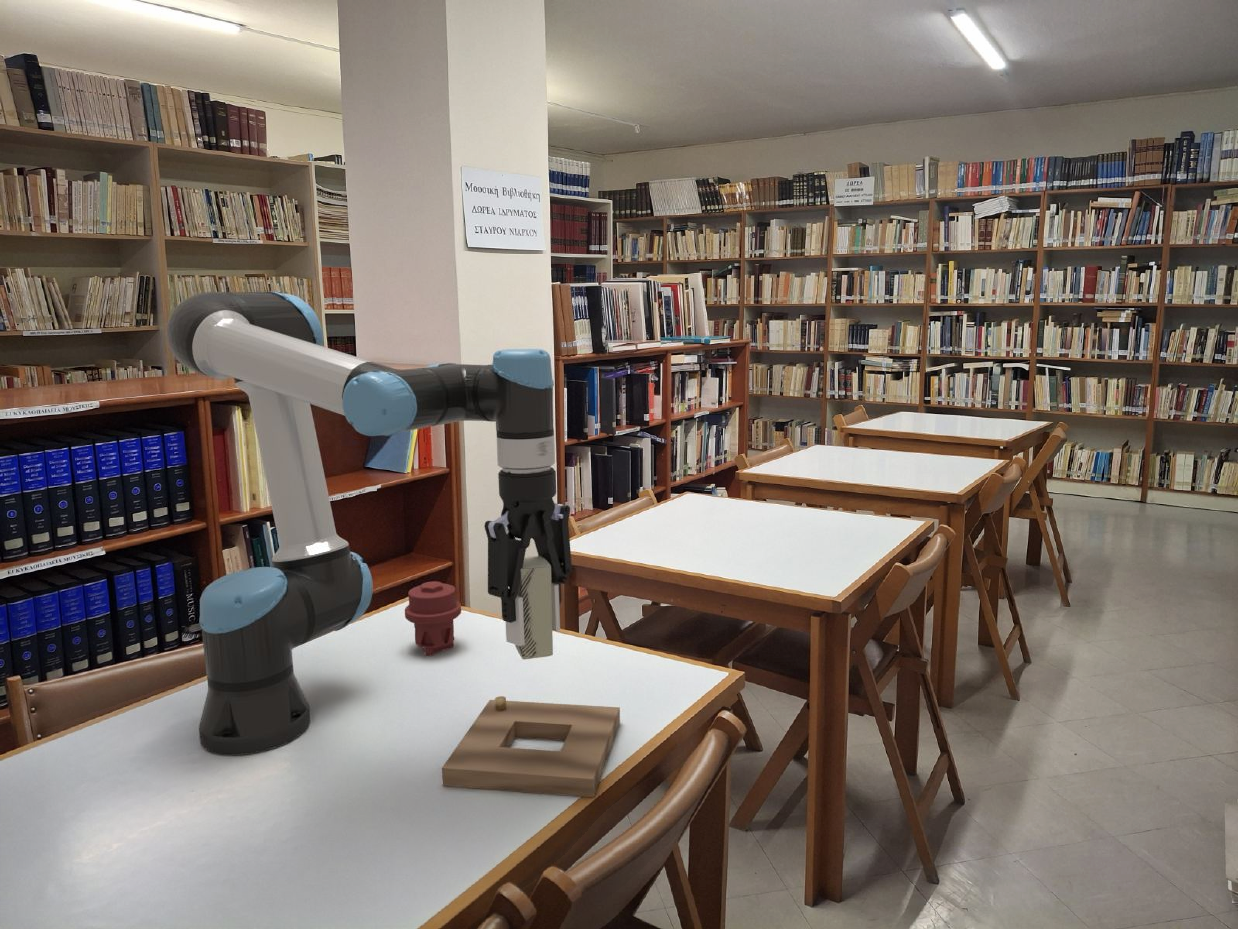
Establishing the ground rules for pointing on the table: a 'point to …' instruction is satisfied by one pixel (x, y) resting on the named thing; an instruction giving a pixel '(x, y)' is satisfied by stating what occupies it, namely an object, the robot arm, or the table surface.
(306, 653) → the table surface
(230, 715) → the robot arm
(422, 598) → the mechanical component
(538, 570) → the box
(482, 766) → the socket board
